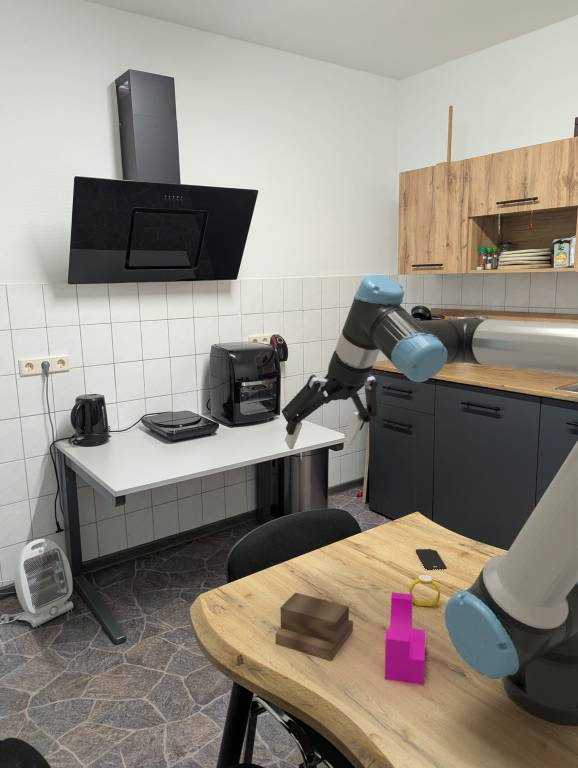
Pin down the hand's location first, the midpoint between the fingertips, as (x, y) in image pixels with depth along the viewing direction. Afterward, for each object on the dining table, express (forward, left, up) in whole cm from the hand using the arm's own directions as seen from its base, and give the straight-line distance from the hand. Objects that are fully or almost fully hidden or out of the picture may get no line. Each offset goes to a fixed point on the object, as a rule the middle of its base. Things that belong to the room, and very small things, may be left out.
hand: (319, 442), depth 117 cm
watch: (-20, -6, -33) cm, 39 cm away
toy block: (-22, +11, -33) cm, 42 cm away
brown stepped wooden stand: (-5, +14, -33) cm, 36 cm away
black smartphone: (-16, -26, -34) cm, 46 cm away
